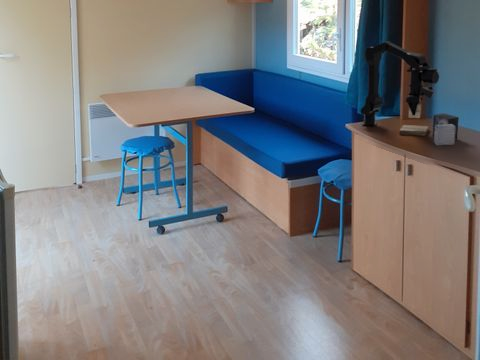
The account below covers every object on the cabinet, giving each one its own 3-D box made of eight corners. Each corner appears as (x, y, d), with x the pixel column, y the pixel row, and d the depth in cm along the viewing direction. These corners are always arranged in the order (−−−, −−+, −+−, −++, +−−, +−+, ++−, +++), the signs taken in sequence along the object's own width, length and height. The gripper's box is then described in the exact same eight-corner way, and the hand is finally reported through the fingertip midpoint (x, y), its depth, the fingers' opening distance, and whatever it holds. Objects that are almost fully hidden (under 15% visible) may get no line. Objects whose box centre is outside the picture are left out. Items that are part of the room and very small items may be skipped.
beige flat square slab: (403, 128, 314) (403, 124, 313) (428, 130, 309) (428, 126, 309) (399, 134, 303) (399, 130, 303) (424, 135, 299) (425, 131, 298)
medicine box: (450, 142, 286) (452, 123, 283) (454, 144, 282) (455, 126, 279) (433, 143, 286) (434, 124, 283) (437, 145, 281) (438, 126, 279)
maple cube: (410, 115, 307) (410, 103, 305) (420, 115, 305) (421, 103, 303) (408, 117, 303) (409, 105, 301) (419, 118, 301) (419, 105, 299)
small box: (431, 136, 298) (432, 114, 295) (442, 134, 300) (443, 112, 297) (446, 141, 289) (448, 118, 285) (457, 139, 291) (459, 116, 288)
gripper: (431, 85, 288) (429, 119, 292) (436, 79, 304) (434, 110, 309) (406, 84, 292) (405, 117, 297) (412, 78, 308) (411, 109, 313)
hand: (414, 114), depth 304 cm, fingers closed on maple cube, 5 cm apart
